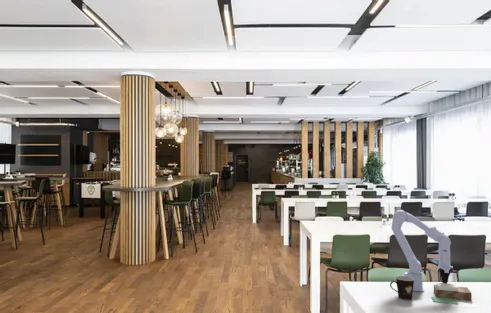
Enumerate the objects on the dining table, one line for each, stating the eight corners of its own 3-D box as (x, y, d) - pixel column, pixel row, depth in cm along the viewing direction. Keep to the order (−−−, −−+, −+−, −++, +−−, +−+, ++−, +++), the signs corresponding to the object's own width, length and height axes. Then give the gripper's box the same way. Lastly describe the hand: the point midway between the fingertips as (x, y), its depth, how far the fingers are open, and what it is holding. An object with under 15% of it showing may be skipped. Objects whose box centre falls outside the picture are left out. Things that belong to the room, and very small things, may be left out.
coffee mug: (413, 296, 202) (413, 277, 202) (415, 301, 194) (414, 281, 194) (389, 294, 206) (389, 275, 206) (390, 299, 197) (390, 279, 198)
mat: (433, 301, 194) (433, 301, 194) (431, 297, 201) (431, 296, 201) (458, 304, 190) (458, 303, 190) (455, 299, 197) (455, 298, 197)
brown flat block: (436, 297, 200) (436, 289, 200) (433, 291, 210) (433, 284, 210) (471, 301, 195) (471, 292, 195) (467, 295, 205) (467, 287, 205)
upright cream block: (438, 289, 201) (438, 285, 201) (436, 286, 206) (436, 282, 206) (457, 291, 198) (457, 287, 198) (455, 288, 203) (455, 284, 204)
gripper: (455, 261, 201) (455, 287, 201) (450, 255, 215) (450, 280, 215) (440, 260, 204) (440, 286, 203) (436, 254, 217) (436, 279, 217)
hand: (444, 283), depth 209 cm, fingers closed
